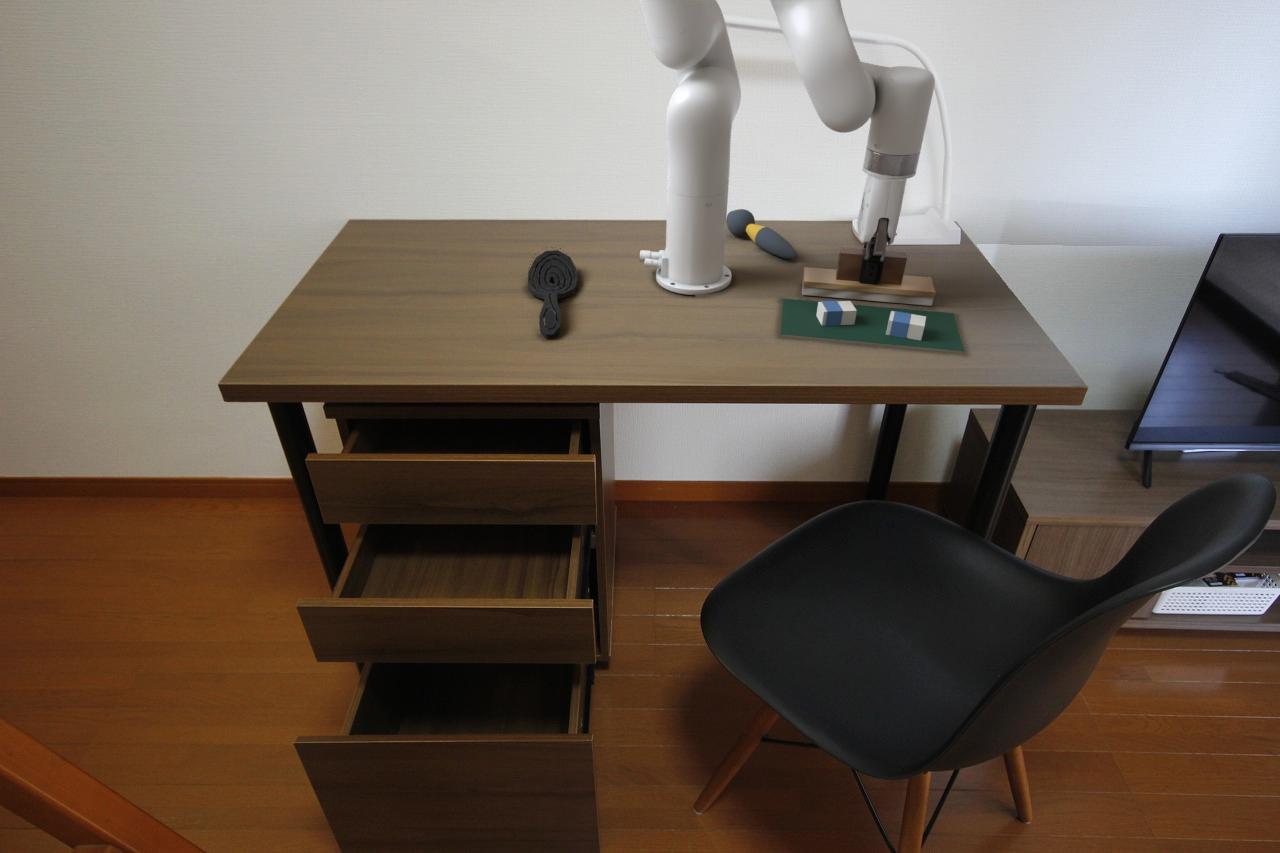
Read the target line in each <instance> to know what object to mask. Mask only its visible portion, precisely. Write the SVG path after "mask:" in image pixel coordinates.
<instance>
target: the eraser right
mask: <svg viewBox="0 0 1280 853" xmlns="http://www.w3.org/2000/svg"><path fill="white" fill-rule="evenodd" d="M925 322H926V316H920V315H914V314H910V313H904V312H898V311H891V314H890V318H889V322H888V327H887V332H886V335H890V336H894V337H900V338H908V339H914V340H920V341H921V339H922V335H923V331H924V327H925Z"/></svg>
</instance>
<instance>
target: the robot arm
mask: <svg viewBox="0 0 1280 853" xmlns="http://www.w3.org/2000/svg"><path fill="white" fill-rule="evenodd" d="M769 1H770V4H771V6H772V8H773V11H774V13H775V16H776V19H777V22H778V25H779V28H780V30H781V32H782V34H783V37H784V39H785V41H786V44H787V46H788V49H789V52H790V54H791V56H792V59H793V61H794V64H795V67H796V70H797V71H798V75H799V77H800V79H801V81H802V83H803V86H804V88H805V90H806V92H807V94H808V97H809V99H810V101H811V103H812V106H813V108H814V109H815V113H816V114H817V116H818V118H819V119H820V121H821V122H822V123H823V124H824V126H825V127H827V128H828V129H830V130H831V131H834V132H836V133H841V134H843V133H844V134H845V133H846V134H847V133H852V132H854V131H857V130H859V129H860V128H862V127H864V125H865V124H866V123H867V122H868V121H869V120H870V124H869V131H868V136H867V142H866V145H865V146H866V148H865V153H864V157H863V158H864V159H863V164H862V172H864V173H865V174H866V175H867V177H866V180H865V184H864V187H863V188H864V189H863V193H862V199H861V204H860V209H859V213H858V218H857V233H858V240H859V242H860V243H861V244H863V246H862V249H866V253H865V258H863V259H862V264H861V269H860V275H859V282H860V283H867V284H879V283H880V279H881V274H882V269H883V264H884V256H885V251H887V246H891V245H892V244H894V241H895V238H896V234H897V229H898V224H899V220H900V216H901V211H902V207H903V206H902V205H903V200H904V196H905V191H906V185H907V180H908V179H911V178H913V177H915V176H916V174H917V170H918V165H919V161H920V156H921V151H922V147H923V141H924V138H925V137H924V136H925V132H926V127H927V123H928V118H929V114H930V109H931V104H932V100H933V94H934V90H935V84H936V83H935V82H936V80H935V76H934V73H932V72H931V71H930V70H928V69H925V68H922V67H917V66H909V65H907V66H906V65H897V66H891V67H890V66H884V65H879V64H873V63H869V62H864V61H861V59H860V57H859V55H858V52H857V50H856V47H855V45H854V41H853V39H852V36H851V34H850V31H849V28H848V24H847V21H846V19H845V15H844V11H843V7H842V2H841V0H769ZM638 2H639V6H640V9H641V12H642V16H643V20H644V23H645V26H646V31H647V36H648V40H649V43H650V46H651V49H652V52H653V53H654V56H655V57H656V58H657V60H658V61H659V62H660V64H662V65H663V66H664V67H666V68H669V69H671V70H672V71H673V74H674V77H675V81H676V85H677V87H676V88H675V90H674V92H673V93H672V95H671V97H670V100H669V101H668V105H667V110H666V115H665V137H666V140H665V141H666V154H667V155H666V156H667V159H666V160H667V162H666V163H667V164H666V165H667V167H666V168H667V171H666V172H667V175H666V177H667V178H666V179H667V180H666V187H667V188H666V226H665V228H666V230H665V248H664V249H659V250H658V251H652V250H645V249H643V250H642V249H641V250H640V252H639V263H640V262H641V263H643V266H644V268H657V269H656V270H655V280H656V282H657V283H658V285H659V286H660V287H662V288H663V289H665V290H667V291H669V292H671V293H676V294H681V295H686V296H687V295H688V296H696V295H707V294H713V293H716V292H719V291H721V290H724V289H726V288H728V287H729V285H730V284H731V283H732V276H733V275H732V271H731V269H730V268H729V267H727V266H726V265H724V256H725V243H726V230H727V229H726V228H727V221H726V219H727V215H728V202H729V199H728V198H729V185H730V184H729V183H730V169H731V168H730V167H731V142H732V141H731V140H732V129H733V123H734V120H735V118H736V115H737V113H738V111H739V109H740V105H741V101H742V100H741V98H742V90H741V89H742V88H741V84H740V79H739V78H740V77H739V75H738V70H737V66H736V62H735V58H734V54H733V49H732V46H731V42H730V41H731V40H730V37H729V33H728V28H727V24H726V21H725V18H724V14H723V12H722V9H721V6H720V4H719V2H718V1H717V0H638Z"/></svg>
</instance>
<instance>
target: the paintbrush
mask: <svg viewBox="0 0 1280 853" xmlns="http://www.w3.org/2000/svg"><path fill="white" fill-rule="evenodd" d="M755 222H756V220H755V216H754V214H753V213H752V212H751V211H750V210H748V209H744V208H738V209H734V210H731V211H729V212H727V216H726V227H727V229H728V231H729V233H730V234H732V235H733V236H735V237H737V238H742V237H747V236H749V238H750V240H752V242H753V243H754V244H755V245H756V246H757V247H758V248H760V249H761V250H763V251H765V252H766V253H769V254H771V255H773V256H776V257H779V258H782V259H784V260H791V261H792V260H796V259H797V258H798V253H797V252H796V249H795V247H794V246H793V245H792V244H791V243H790V242H788V240H787V239H786V238H784V236H782V235H781V234H779V233H778V232H777V231H775V230H773V229H772V228H770V227H769V226H764V225H760V224H756V223H755Z"/></svg>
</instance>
